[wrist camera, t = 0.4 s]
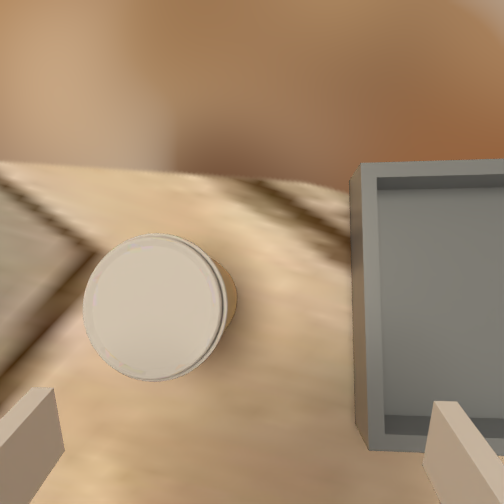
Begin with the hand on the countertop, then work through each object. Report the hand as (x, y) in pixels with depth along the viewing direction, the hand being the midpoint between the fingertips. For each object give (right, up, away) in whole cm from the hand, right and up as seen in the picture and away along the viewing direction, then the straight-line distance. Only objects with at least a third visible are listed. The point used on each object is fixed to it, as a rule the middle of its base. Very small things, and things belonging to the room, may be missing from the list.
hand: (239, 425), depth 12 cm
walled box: (+21, +2, +19) cm, 28 cm away
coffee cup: (-5, +2, +22) cm, 22 cm away
